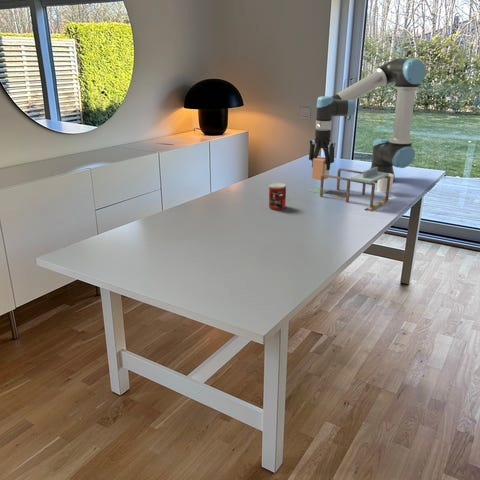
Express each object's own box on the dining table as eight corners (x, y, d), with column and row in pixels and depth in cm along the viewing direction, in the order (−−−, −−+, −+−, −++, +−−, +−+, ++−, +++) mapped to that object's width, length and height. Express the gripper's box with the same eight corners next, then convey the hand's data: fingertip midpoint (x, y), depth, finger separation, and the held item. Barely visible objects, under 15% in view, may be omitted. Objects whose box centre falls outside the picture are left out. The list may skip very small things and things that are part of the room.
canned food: (266, 208, 220) (266, 186, 216) (273, 204, 227) (273, 182, 223) (281, 211, 217) (281, 188, 213) (287, 206, 223) (288, 183, 219)
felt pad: (317, 188, 248) (317, 187, 248) (330, 190, 243) (330, 190, 243) (308, 191, 242) (308, 190, 242) (322, 194, 237) (322, 193, 237)
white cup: (388, 196, 237) (390, 177, 233) (373, 194, 241) (375, 175, 238) (394, 193, 243) (396, 174, 239) (379, 190, 247) (381, 172, 243)
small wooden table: (322, 187, 253) (323, 164, 248) (389, 201, 229) (392, 176, 225) (301, 196, 239) (302, 171, 234) (370, 211, 216) (372, 184, 211)
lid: (369, 172, 231) (370, 164, 230) (388, 175, 225) (389, 167, 224) (350, 179, 218) (351, 171, 217) (370, 183, 212) (371, 174, 211)
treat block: (318, 176, 244) (319, 157, 240) (328, 178, 240) (329, 158, 237) (311, 178, 240) (312, 158, 236) (321, 180, 236) (323, 160, 232)
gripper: (302, 128, 234) (300, 173, 243) (336, 132, 223) (332, 179, 231) (311, 126, 239) (308, 171, 248) (344, 130, 228) (340, 176, 236)
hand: (320, 175), depth 240 cm, fingers closed on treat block, 6 cm apart
